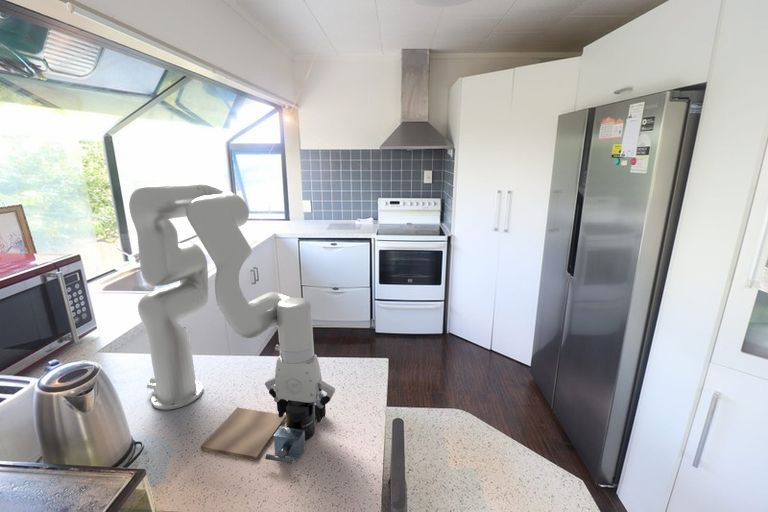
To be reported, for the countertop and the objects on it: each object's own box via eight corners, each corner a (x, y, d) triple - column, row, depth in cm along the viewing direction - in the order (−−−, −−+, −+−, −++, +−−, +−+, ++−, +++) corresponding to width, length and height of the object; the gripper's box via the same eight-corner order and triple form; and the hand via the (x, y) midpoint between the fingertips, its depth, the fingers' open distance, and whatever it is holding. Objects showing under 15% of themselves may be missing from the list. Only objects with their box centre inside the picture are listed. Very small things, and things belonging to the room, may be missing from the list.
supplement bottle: (309, 445, 84) (306, 400, 81) (282, 441, 86) (278, 396, 83) (320, 425, 91) (318, 383, 88) (294, 421, 92) (292, 379, 89)
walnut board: (201, 450, 83) (200, 446, 82) (237, 410, 96) (237, 407, 96) (256, 460, 80) (256, 456, 80) (286, 418, 93) (286, 415, 93)
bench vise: (266, 468, 78) (264, 448, 77) (303, 411, 96) (302, 394, 95) (291, 473, 77) (290, 453, 75) (324, 414, 95) (323, 398, 93)
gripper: (253, 356, 81) (260, 421, 85) (327, 364, 77) (330, 432, 81) (270, 340, 88) (276, 402, 92) (338, 347, 84) (341, 411, 89)
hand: (301, 416), depth 87 cm, fingers open, 9 cm apart
